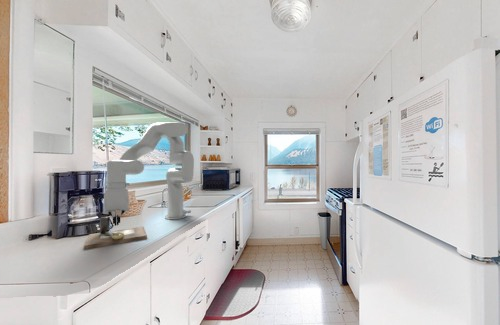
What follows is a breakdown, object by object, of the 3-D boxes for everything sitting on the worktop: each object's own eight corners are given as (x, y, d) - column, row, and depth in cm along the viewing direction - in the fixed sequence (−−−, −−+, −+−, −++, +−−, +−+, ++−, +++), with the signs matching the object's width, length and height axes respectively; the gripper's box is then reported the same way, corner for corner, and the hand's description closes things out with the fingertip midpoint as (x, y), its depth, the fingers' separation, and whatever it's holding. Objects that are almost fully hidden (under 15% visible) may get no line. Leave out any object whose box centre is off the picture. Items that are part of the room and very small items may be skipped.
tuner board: (143, 229, 105) (143, 226, 105) (146, 238, 91) (147, 234, 91) (89, 237, 93) (89, 233, 93) (84, 249, 79) (84, 245, 80)
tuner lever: (125, 237, 88) (126, 220, 88) (114, 240, 84) (114, 223, 84) (108, 231, 96) (108, 216, 97) (97, 233, 93) (97, 218, 93)
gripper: (134, 184, 104) (134, 220, 104) (97, 186, 96) (97, 225, 96) (135, 185, 98) (135, 224, 97) (96, 187, 90) (96, 229, 89)
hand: (116, 224), depth 97 cm, fingers closed
